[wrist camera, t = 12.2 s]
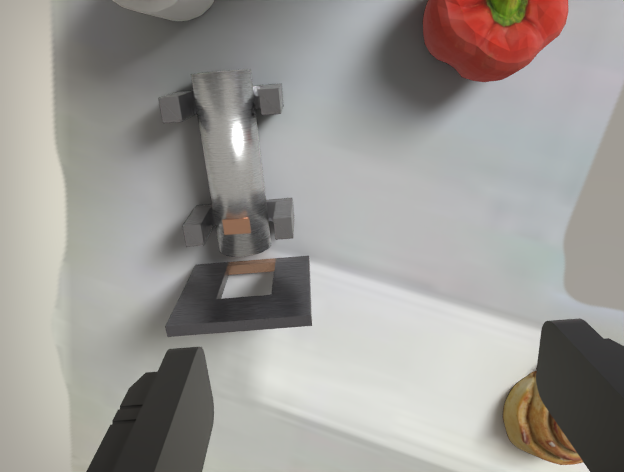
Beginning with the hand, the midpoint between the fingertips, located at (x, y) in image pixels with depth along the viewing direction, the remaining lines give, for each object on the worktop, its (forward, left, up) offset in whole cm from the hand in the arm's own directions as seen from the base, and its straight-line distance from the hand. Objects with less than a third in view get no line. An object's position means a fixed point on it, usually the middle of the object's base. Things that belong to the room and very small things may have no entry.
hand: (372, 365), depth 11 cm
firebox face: (+14, -8, -36) cm, 39 cm away
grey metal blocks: (-3, -8, -36) cm, 37 cm away
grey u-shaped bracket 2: (+8, -8, -36) cm, 38 cm away
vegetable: (-9, +14, -36) cm, 40 cm away
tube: (+2, -8, -35) cm, 36 cm away
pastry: (+35, +27, -37) cm, 57 cm away
